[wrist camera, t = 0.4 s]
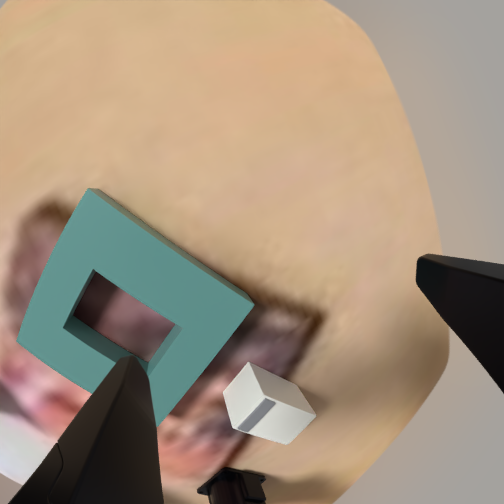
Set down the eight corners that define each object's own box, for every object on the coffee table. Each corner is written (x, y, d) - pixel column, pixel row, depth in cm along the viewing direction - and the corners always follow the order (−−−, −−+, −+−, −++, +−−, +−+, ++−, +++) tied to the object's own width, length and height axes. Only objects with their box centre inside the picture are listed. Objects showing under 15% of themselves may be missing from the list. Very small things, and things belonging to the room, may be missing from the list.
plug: (271, 411, 26) (287, 446, 21) (222, 391, 24) (233, 429, 20) (296, 384, 26) (317, 417, 21) (248, 360, 24) (264, 396, 19)
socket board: (158, 409, 23) (157, 426, 21) (27, 328, 19) (16, 341, 17) (246, 293, 23) (254, 304, 21) (98, 188, 19) (88, 188, 16)
